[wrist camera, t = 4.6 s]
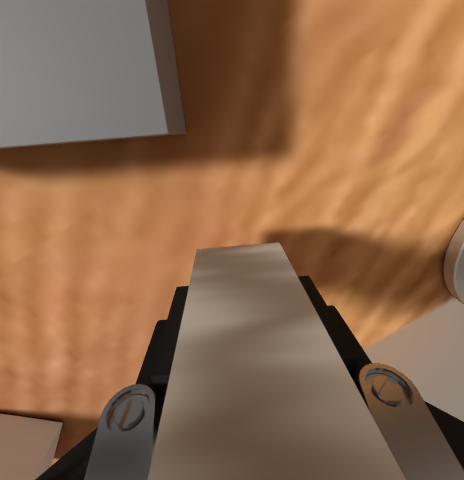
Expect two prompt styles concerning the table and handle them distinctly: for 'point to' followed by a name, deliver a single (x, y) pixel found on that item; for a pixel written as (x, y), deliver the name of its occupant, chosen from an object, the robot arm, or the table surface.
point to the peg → (261, 382)
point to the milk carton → (26, 446)
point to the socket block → (87, 72)
